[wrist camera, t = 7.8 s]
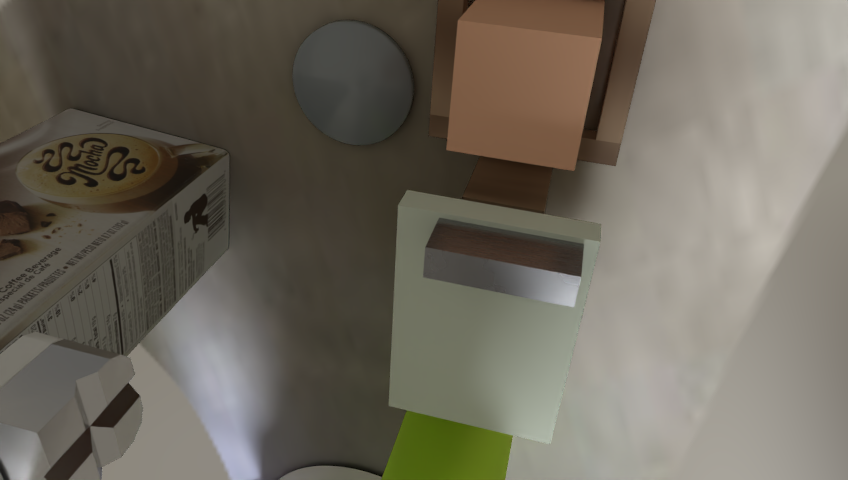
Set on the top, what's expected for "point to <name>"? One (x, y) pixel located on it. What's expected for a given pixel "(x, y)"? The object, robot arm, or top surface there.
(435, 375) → the sliding lid
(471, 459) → the soap dispenser
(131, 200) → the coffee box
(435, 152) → the top surface
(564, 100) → the terracotta block
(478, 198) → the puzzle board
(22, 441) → the robot arm
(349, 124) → the slate coaster
